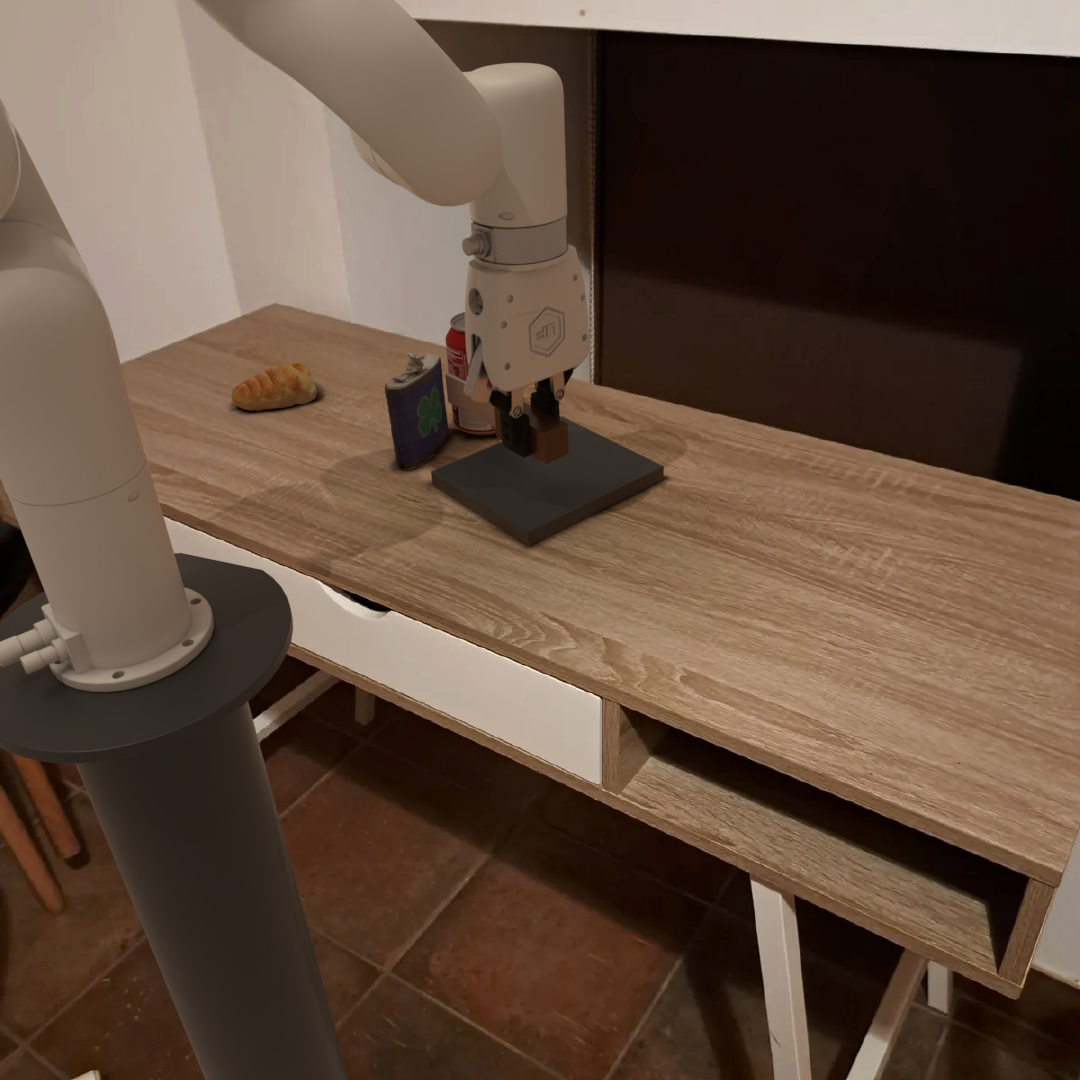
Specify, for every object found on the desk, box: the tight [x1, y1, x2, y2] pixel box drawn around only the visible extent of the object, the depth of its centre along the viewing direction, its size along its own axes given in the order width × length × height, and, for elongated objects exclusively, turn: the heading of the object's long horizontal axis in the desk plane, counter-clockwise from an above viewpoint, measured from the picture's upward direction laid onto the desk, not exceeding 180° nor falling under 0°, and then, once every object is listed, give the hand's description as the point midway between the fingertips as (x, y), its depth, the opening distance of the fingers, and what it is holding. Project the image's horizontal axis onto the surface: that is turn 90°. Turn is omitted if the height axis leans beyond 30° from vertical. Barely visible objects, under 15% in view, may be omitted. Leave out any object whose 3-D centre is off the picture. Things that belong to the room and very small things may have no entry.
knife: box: [444, 372, 569, 464], centre depth 92 cm, size 16×3×3 cm, turn 40°
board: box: [430, 416, 665, 547], centre depth 98 cm, size 17×15×2 cm
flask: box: [384, 351, 449, 471], centre depth 102 cm, size 9×3×11 cm, turn 157°
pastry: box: [231, 359, 318, 412], centre depth 116 cm, size 9×7×4 cm
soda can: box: [445, 311, 508, 437], centre depth 106 cm, size 7×7×12 cm
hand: (531, 443), depth 89 cm, fingers closed on knife, 2 cm apart
